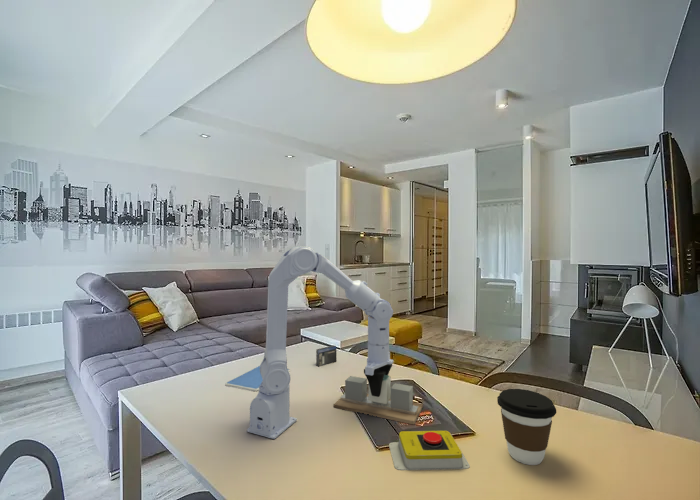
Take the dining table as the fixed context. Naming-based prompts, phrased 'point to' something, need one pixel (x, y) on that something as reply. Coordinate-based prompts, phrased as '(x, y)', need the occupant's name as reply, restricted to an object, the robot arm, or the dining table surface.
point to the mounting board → (379, 411)
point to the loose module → (383, 391)
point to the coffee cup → (526, 423)
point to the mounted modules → (399, 393)
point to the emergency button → (427, 451)
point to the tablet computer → (248, 380)
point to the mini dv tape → (325, 356)
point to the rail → (381, 405)
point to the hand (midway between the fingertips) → (378, 392)
